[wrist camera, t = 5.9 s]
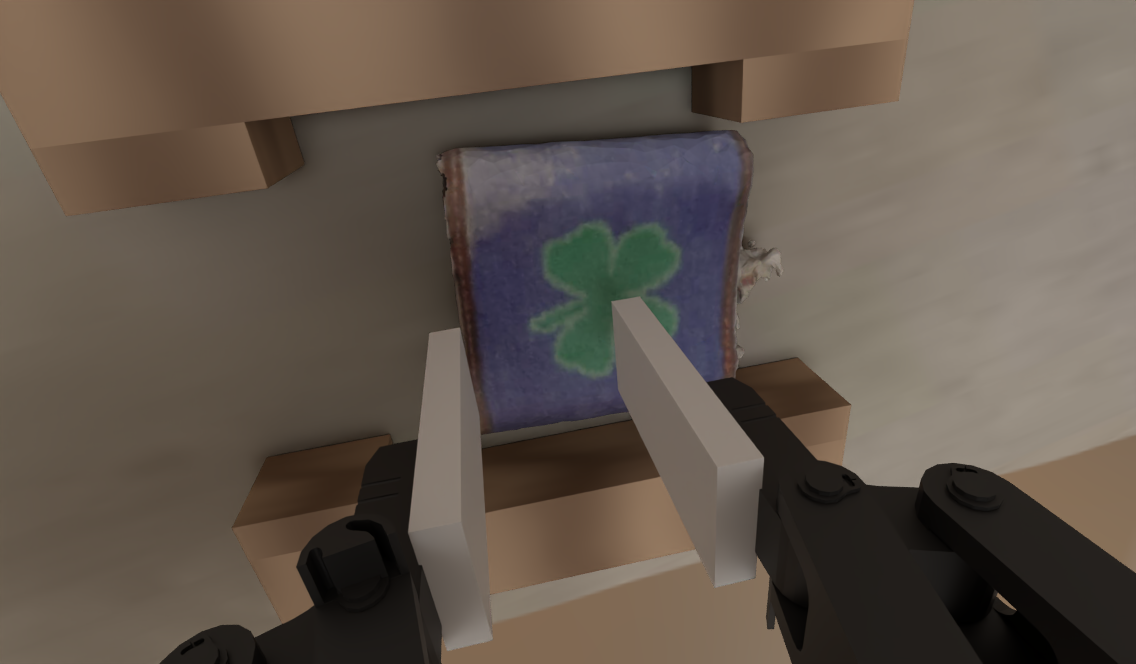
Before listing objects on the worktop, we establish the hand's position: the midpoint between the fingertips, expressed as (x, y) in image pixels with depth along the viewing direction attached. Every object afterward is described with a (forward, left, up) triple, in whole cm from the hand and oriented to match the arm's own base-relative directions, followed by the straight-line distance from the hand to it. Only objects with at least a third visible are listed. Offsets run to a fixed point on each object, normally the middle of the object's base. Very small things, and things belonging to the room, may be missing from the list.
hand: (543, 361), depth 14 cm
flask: (-2, 0, -6) cm, 7 cm away
